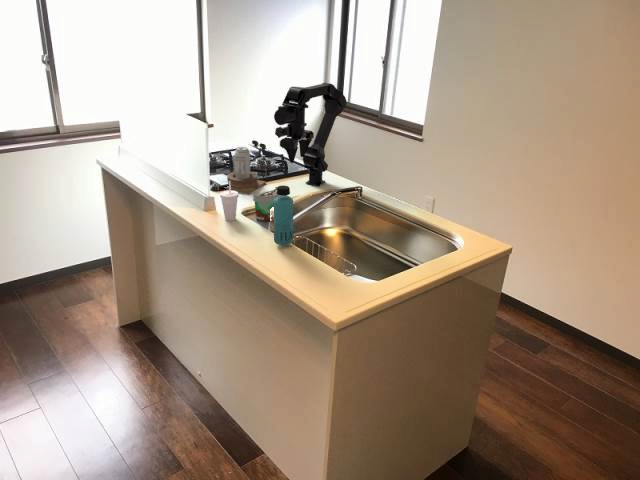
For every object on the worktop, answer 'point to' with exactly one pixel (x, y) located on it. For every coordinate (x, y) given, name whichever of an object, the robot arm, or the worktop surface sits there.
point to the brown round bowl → (244, 183)
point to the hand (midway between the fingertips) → (296, 159)
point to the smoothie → (229, 203)
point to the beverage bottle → (283, 217)
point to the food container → (264, 205)
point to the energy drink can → (242, 163)
